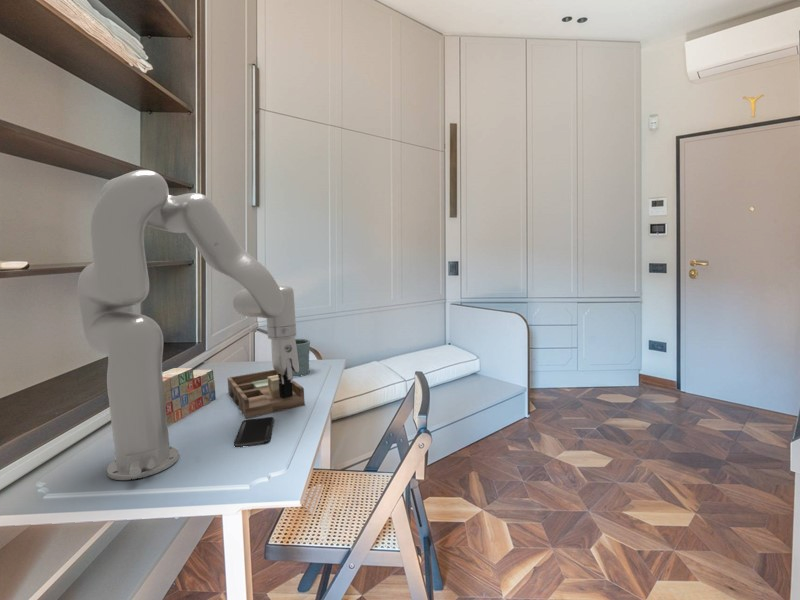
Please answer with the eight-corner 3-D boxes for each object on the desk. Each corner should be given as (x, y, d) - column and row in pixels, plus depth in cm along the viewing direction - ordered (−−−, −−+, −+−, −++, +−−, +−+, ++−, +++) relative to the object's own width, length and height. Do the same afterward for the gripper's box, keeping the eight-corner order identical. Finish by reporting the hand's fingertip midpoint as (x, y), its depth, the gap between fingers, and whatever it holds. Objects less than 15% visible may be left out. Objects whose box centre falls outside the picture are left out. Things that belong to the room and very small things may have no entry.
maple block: (290, 394, 120) (289, 377, 120) (273, 397, 118) (272, 380, 117) (285, 390, 125) (284, 373, 124) (268, 393, 122) (267, 376, 122)
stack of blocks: (197, 398, 128) (194, 359, 126) (216, 399, 127) (213, 359, 125) (144, 427, 107) (139, 380, 105) (165, 427, 106) (161, 380, 104)
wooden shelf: (304, 405, 118) (303, 388, 118) (246, 418, 110) (244, 400, 109) (279, 383, 140) (278, 369, 140) (228, 393, 132) (227, 377, 131)
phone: (232, 445, 92) (242, 419, 107) (233, 449, 92) (243, 424, 107) (269, 440, 94) (274, 416, 109) (270, 445, 94) (275, 420, 109)
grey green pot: (288, 370, 157) (286, 339, 156) (314, 369, 156) (312, 338, 155) (279, 378, 147) (277, 344, 146) (307, 377, 146) (305, 343, 145)
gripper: (304, 333, 109) (308, 401, 111) (287, 326, 122) (291, 387, 124) (275, 337, 105) (280, 407, 107) (261, 329, 118) (265, 392, 120)
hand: (286, 396), depth 115 cm, fingers closed
